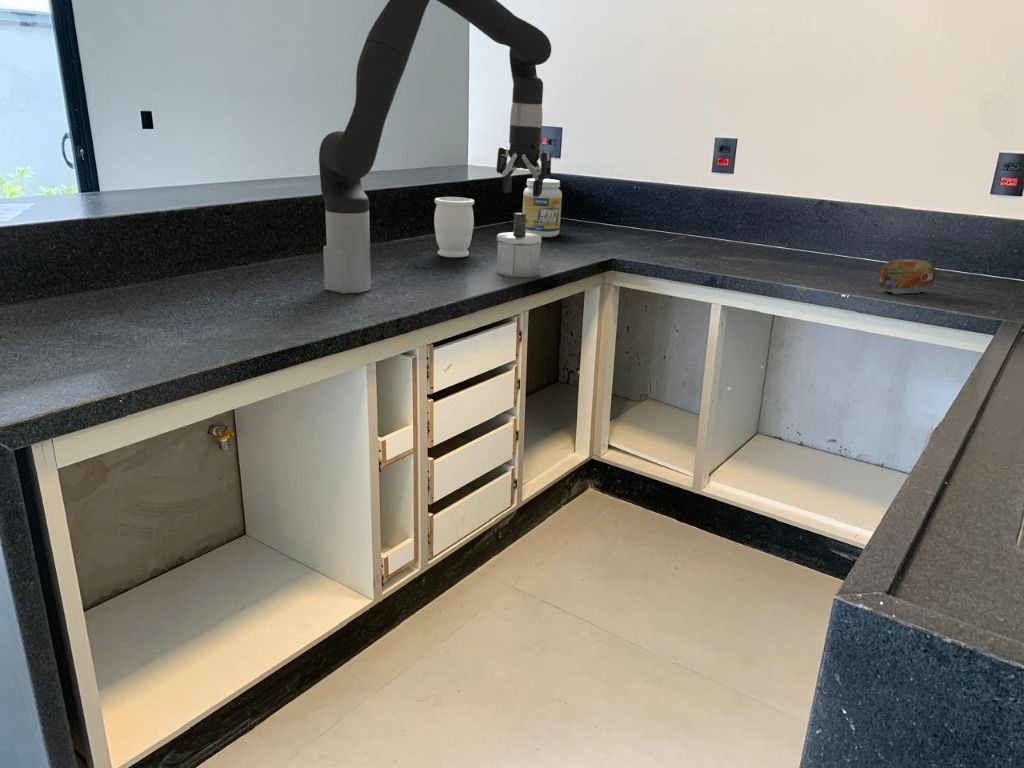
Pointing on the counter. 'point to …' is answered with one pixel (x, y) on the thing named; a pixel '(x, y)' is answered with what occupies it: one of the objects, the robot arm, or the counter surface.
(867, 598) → the counter surface
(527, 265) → the pot
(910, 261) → the tin
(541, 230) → the supplement tub
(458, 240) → the jar
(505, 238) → the lid
